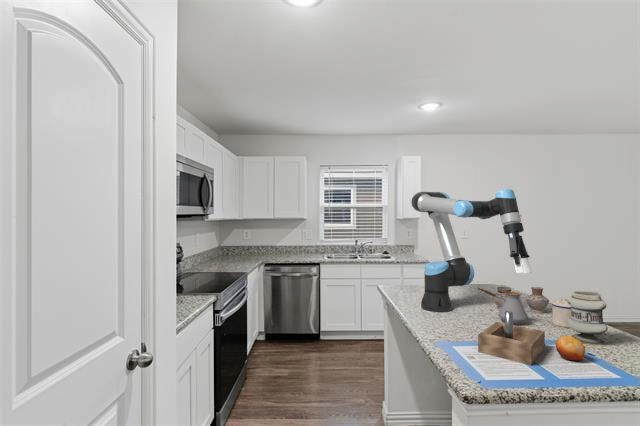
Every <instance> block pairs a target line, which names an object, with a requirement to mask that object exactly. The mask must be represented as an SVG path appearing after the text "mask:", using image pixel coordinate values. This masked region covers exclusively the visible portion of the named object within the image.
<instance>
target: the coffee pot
mask: <svg viewBox="0 0 640 426" xmlns="http://www.w3.org/2000/svg"><path fill="white" fill-rule="evenodd" d="M478 290H479V291H480V292H483V293H484V294H486V295H490V296H491V297H492V296H495V297H497V298H500V299H502V300H504V303H503V305H502V307H501V309H499V312H498V314H497V315H498V317H499V319H500V320H502V321H503V322H502V323H505V311H511V312H513V325H516V326H520V325H523V324H524V323H525V322H526V323H527V321H528V318H529V317H528V314H527V313H526V310H525V309H524V306H523V304H522V303H523V302H522V301H521V298H520V297H521V296H522V294H521V293H519V292H516V291H511V292H505V294H506V299H505V298H502V297H500V296H497V295H495V293H493V292H491V291H489V290H486V289H483V288H480V287H477V286H476V288H475V292H477V291H478Z"/></svg>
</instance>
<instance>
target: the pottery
mask: <svg viewBox="0 0 640 426" xmlns="http://www.w3.org/2000/svg"><path fill="white" fill-rule="evenodd" d="M496 289H497V292H495V293H494V294H495V295H497V296H500V297H502V298H505V299H506V294H505V292H512V288H511V287H507V286H498V287H497V288H496ZM543 290H544V288H543V287H541V286H540V287H539V286H531V292H532V293H531V294H528V296H527V295H526V297H525V302H526V304H527V306H528V307H529V308H530V312H531V313H535V314H544V313H545V311H544V310H546V309H547V307H548V305H549V303H550V300H549V298H547V297H546V296H544V295H543ZM491 299H492V301H493V302H494V304H495V305H496V306H497V309H498V310H500V309H501V307H502V305H503V303H504V300H502V299H500V298H497V297H495V296H492V295H491Z"/></svg>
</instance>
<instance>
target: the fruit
mask: <svg viewBox="0 0 640 426" xmlns="http://www.w3.org/2000/svg"><path fill="white" fill-rule="evenodd" d="M555 349H556V351H557V353H558V355H559V356H560V357H562V358H563V360H567V361H581V360H583V359H584V358H585V356H586V355H585V354H586V346H585V345H584V343H582V342H581V341H580V340H578V339H576V338H574V337H572V335H565V336H564V335H563V336H560V337H558V338H557V339H556V340H555Z"/></svg>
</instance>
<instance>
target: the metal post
mask: <svg viewBox="0 0 640 426" xmlns="http://www.w3.org/2000/svg"><path fill="white" fill-rule="evenodd" d="M504 323H505V338H509V339H513V312H511V311H505V322H504Z"/></svg>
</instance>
